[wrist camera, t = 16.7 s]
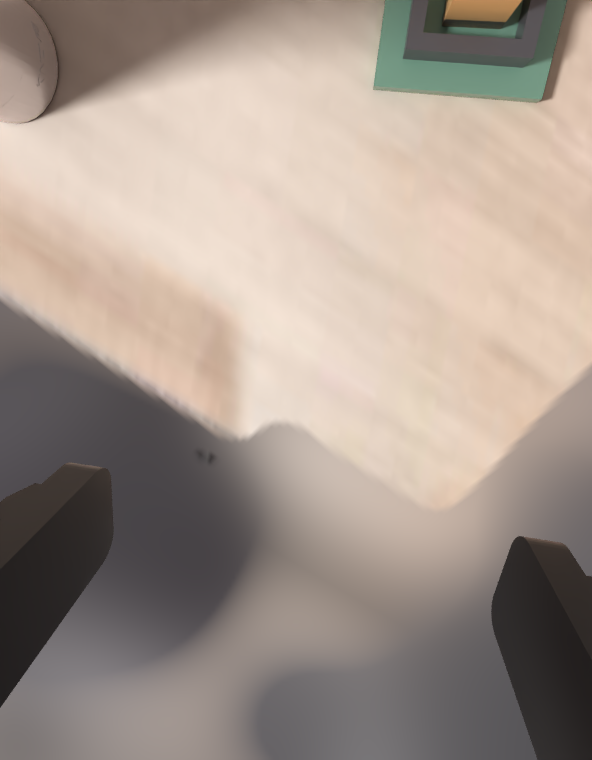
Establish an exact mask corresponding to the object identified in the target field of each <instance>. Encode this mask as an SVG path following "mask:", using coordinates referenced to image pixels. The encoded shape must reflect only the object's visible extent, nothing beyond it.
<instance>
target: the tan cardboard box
mask: <svg viewBox="0 0 592 760" xmlns="http://www.w3.org/2000/svg"><path fill="white" fill-rule="evenodd" d="M521 1H522V0H446V2H445V8H444V14H443V21H442V26H445V27H465V28H486V29H501V28H502V27H503V25H504V24H505V23H506V21H507V20H508V19H509V17H510V16H511V14H512V13H513V12H514V10H515V9H516V8H517V6H518V5H519V4H520V2H521Z"/></svg>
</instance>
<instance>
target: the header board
mask: <svg viewBox="0 0 592 760" xmlns="http://www.w3.org/2000/svg"><path fill="white" fill-rule="evenodd" d="M445 2H446V0H385V7H384V15H383V22H382V29H381V36H380V44H379V51H378V58H377V66H376V73H375V80H374V88H373V90H383V91H395V92H408V93H420V94H433V95H445V96H458V97H470V98H483V99H495V100H508V101H520V102H533V103H537V102H539V101H540V100H542V97H543V93H544V89H545V85H546V81H547V77H548V73H549V69H550V65H551V62H552V58H553V54H554V50H555V46H556V42H557V38H558V34H559V30H560V26H561V22H562V18H563V14H564V10H565V7H566V3H567V0H522V1H521V2H520V4H519V5H518V6H517V8H516V9H515V10H514V12H513V13H512V14H511V16H510V17H509V19H508V20H507V21H506V23H505V24H504V25H503V27H502V28H501V29H486V28H465V27H445V26H442V21H443V14H444V8H445Z"/></svg>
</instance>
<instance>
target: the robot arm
mask: <svg viewBox="0 0 592 760" xmlns="http://www.w3.org/2000/svg"><path fill="white" fill-rule="evenodd" d="M57 79H58V62H57V56H56V49H55V46H54V43H53V40H52V37H51V35H50V33H49V31H48V29H47V27H46V25H45V23H44V21H43V20H42V19H41V17H40V16H39V15H38V13H37V12H36V11H35V10H34V9H33V8H32V7H31V6H30V5H29V4H28V3H27V2H26V1H24V0H0V121H2V122H6V123H15V124H18V123H24V122H28V121H30V120H33V119H35V118H37V117H38V116H39V115H40V114H41V113H42V112H44V111H45V109H46V108H47V106H48V105H49V103H50V102H51V100H52V97H53V95H54V92H55V89H56V84H57ZM113 532H114V526H113V507H112V489H111V475H110V473H109V471H108V469H106V468H101V467H94V466H89V465H82V464H76V463H66V464H64V465H63V466H62V467H61V468H59V469H58V470H57V471H56V472H55V473H54V474H53V475H51V476H50V477H49V478H48V479H47V480H46V481H45V482H43V483H42V484H36V483H35V484H33V485H31V486H28V487H27V488H24V489H23V490H20V491H18V492H16V493H14V494H12V495H10V496H8V497H6V498H5V499H3V500H2V501H1V502H0V707H1V706H2V705H3V703H4V702H5V700H6V699H7V698H8V696H9V694H10V693H11V692H12V690H13V689H14V688H15V686H16V685H17V683H18V682H19V681H20V679H21V678H22V676H23V675H24V673H25V672H26V671H27V669H28V668H29V667H30V665H31V664H32V662H33V661H34V659H35V658H36V657H37V655H38V654H39V652H40V651H41V650H42V648H43V647H44V645H45V644H46V643H47V641H48V640H49V638H50V637H51V636H52V634H53V633H54V631H55V630H56V629H57V627H58V626H59V624H60V623H61V622H62V620H63V619H64V617H65V616H66V614H67V613H68V611H69V610H70V609H71V607H72V606H73V605H74V603H75V602H76V600H77V599H78V598H79V596H80V595H81V593H82V592H83V591H84V589H85V588H86V586H87V585H88V584H89V582H90V581H91V579H92V578H93V576H94V575H95V574H96V572H97V571H98V569H99V568H100V566H101V565H102V564H103V562H104V561H105V559H106V557H107V555H108V552H109V550H110V547H111V544H112V540H113ZM491 612H492V613H491V614H492V625H493V630H494V634H495V637H496V640H497V643H498V646H499V648H500V651H501V654H502V657H503V660H504V663H505V666H506V669H507V672H508V674H509V677H510V680H511V684H512V687H513V689H514V692H515V695H516V698H517V701H518V704H519V707H520V710H521V713H522V716H523V719H524V722H525V724H526V728H527V730H528V733H529V736H530V739H531V742H532V745H533V748H534V751H535V754H536V757H537V760H592V577H591V576H586V575H585V573H584V572H583V570H582V569H581V567H580V566H579V564H578V563H577V561H576V559H575V558H574V556H573V555H572V553H571V552H570V550H569V549H568V548H567V547H566V545H564V544H563V543H559V542H553V541H547V540H541V539H535V538H528V537H522V536H519V537H517V538H515V540H514V541H513V543H512V545H511V548H510V550H509V553H508V556H507V559H506V562H505V565H504V568H503V570H502V573H501V576H500V579H499V582H498V585H497V587H496V590H495V593H494V596H493V600H492V611H491Z"/></svg>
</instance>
